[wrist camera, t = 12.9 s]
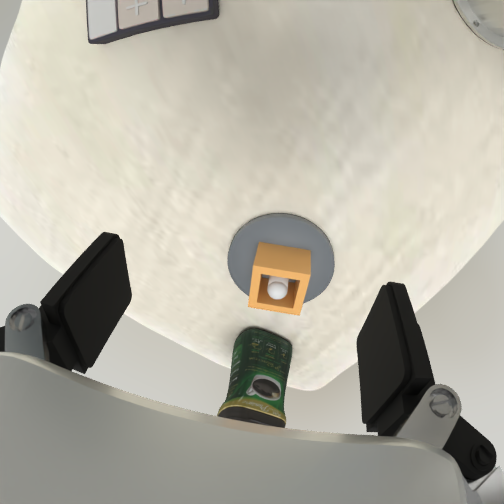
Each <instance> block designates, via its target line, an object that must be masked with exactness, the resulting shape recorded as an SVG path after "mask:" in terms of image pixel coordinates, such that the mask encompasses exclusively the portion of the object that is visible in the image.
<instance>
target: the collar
mask: <svg viewBox="0 0 504 504" xmlns="http://www.w3.org/2000/svg"><path fill="white" fill-rule="evenodd" d="M262 274H265V275H271V276H277V277H283V278H289V279H295V280H296V281H295V283H293V282H288V291H287V294H286V296H285V297H284V298H282V299H273V298H271V297H270V296H269V294H268V291H267V288H268V282H269V278H263V277H262ZM310 276H311V250H306V249H300V248H294V247H288V246H282V245H276V244H270V243H264V242H259V244H258V248H257V252H256V256H255V260H254V264H253V270H252V278H251V286H250V294H249V302H248V307H251V308H257V309H263V310H269V311H275V312H281V313H287V314H293V315H300V312H301V308H302V305H303V301H304V298H305V294H306V291H307V287H308V283H309V280H310Z"/></svg>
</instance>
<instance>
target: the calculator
mask: <svg viewBox="0 0 504 504" xmlns="http://www.w3.org/2000/svg"><path fill="white" fill-rule="evenodd" d="M86 10H87V30H88V42H89V43H90V44H106V43H110V42H113V41H116V40H119V39H123V38H126V37H129V36H132V35H135V34H139V33H143V32H147V31H151V30H156V29H160V28H165V27H170V26H175V25H180V24H185V23H191V22H197V21H203V20H210V19H216V18H218V16H219V5H218V0H86Z"/></svg>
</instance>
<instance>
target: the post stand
mask: <svg viewBox="0 0 504 504" xmlns="http://www.w3.org/2000/svg"><path fill="white" fill-rule="evenodd" d="M259 242H264V243H270V244H276V245H282V246H288V247H294V248H300V249H306V250H311V276H310V280H309V283H308V287H307V291H306V294H305V298H304V301H303V303H305V302H308V301H310V300H312V299H314V298H315V297H317V296H318V295H320V294H321V293H322V292H323V291H324V290H325V289H326V287H327V286H328V284H329V283H330V281H331V279H332V276H333V272H334V255H333V250H332V246H331V244H330V241H329V240H328V238H327V236H326V235H325V234H324V233H323V231H322V230H321V229H320V228H319V227H317V226H316V225H315V224H313V223H312V222H310V221H308V220H306V219H304V218H302V217H299V216H296V215H292V214H284V213H274V214H267V215H263V216H260V217H257V218H255V219H253V220H251V221H249V222H248V223H247V224H245V225H244V226H243V227H242V228H241V229H240V230H239V231H238V232H237V234H236V235H235V237H234V239H233V241H232V243H231V246H230V249H229V252H228V269H229V272H230V275H231V277H232V279H233V281H234V282H235V284H236V285H237V286H238V287H239V288H240V289H241V290H242V291H243V292H244V293H245V294H247V295H248V296H249V294H250V286H251V278H252V270H253V264H254V260H255V256H256V252H257V248H258V244H259ZM262 277H263V278H269V282H268V288H267V291H268V294H269V296H270V297H271V298H273V299H282V298H284V297H285V296H286V294H287V291H288V282H293V283H295V281H296V280H295V279H289V278H283V277H277V276H271V275H265V274H262Z"/></svg>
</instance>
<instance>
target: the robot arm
mask: <svg viewBox="0 0 504 504" xmlns="http://www.w3.org/2000/svg"><path fill="white" fill-rule="evenodd" d="M453 1H454V3H455V6H456V8H457V10H458V11H459V13H460V15H461V17H462V18H463V19H464V21H465V22H466V24H467V25H468V26H469V27H470V28H471V29H472V31H473V32H474V33H475V34H476V35H478V36H479V37H480V38H481V39H482V40H484V41H485V42H487V43H488V44H490V45H492V46H494V47H496V48H500V49H504V0H453ZM473 23H474V24H473ZM131 298H132V292H131V287H130V281H129V276H128V270H127V264H126V258H125V251H124V244H123V240H122V239H120V237H119V235H117V234H113V233H108V232H103V233H102V234H101V235H100V236H99V237H98V238H97V239H96V240H95V241H94V242H93V243H92V244H91V245H90V246H89V247H88V248H87V249H86V250H85V251H84V252H83V253H82V255H81V256H80V257H79V258H78V259H77V260H76V261H75V262H74V263H73V264H72V266H71V267H70V268H69V269H68V270H67V271H66V272H65V273H64V275H63V276H62V277H61V278H60V279H59V280H58V281H57V283H56V284H55V285H54V286H53V287H52V288H51V290H50V291H49V292H48V293H47V294H46V296H45V297H44V298H43V299H42V301H41V306H40V308H39V309H38V307H37V306H35V305H32V304H23V305H20V306H18V307H16V308H15V309H13V310H12V311H11V312H10V313H9V315H8V317H7V318H6V323H5V326H3V327H0V504H504V472H503V471H502V469H501V468H500V466H499V467H497V468H496V467H495V464H496V451H495V448H494V446H493V444H491V442H490V441H489V440H488V439H487V438H485V437H484V436H483V435H482V434H481V433H480V432H478V431H477V430H476V429H475V428H474V427H473V426H471V425H470V424H469V423H468V422H467V421H466V420H465V419H463V418H462V417H461V416H460V413H461V401H460V399H459V397H458V395H457V393H456V392H455V391H454V390H453V389H452V388H450V387H448V386H446V385H442V384H436V385H435V381H434V377H433V373H432V369H431V365H430V361H429V357H428V354H427V350H426V346H425V343H424V339H423V336H422V332H421V329H420V326H419V325H418V323H417V321H416V317H415V314H414V311H413V308H412V305H411V302H410V299H409V296H408V293H407V290H406V287H405V285H404V284H401V283H395V282H388V283H387V285H383V286H382V287H381V289H380V291H379V293H378V295H377V298H376V300H375V302H374V304H373V306H372V308H371V310H370V313H369V315H368V317H367V319H366V321H365V323H364V325H363V327H362V329H361V331H360V333H359V335H358V338H357V354H358V365H359V378H360V391H361V408H362V422H363V423H364V424H366V427H367V432H378V436H374V435H354V434H339V433H326V432H315V431H305V430H296V429H288V428H280V427H273V426H267V425H260V424H254V423H248V422H243V421H237V420H232V419H227V418H222V417H217V416H213V415H208V414H204V413H200V412H195V411H191V410H187V409H183V408H180V407H176V406H172V405H168V404H165V403H161V402H158V401H154V400H151V399H148V398H144V397H141V396H138V395H135V394H132V393H129V392H126V391H123V390H120V389H117V388H114V387H111V386H108V385H106V384H103V383H100V382H97V381H95V380H92V379H90V378H87V377H84V376H82V375H79V374H77V373H74V372H72V369H74V370H76V371H79V372H81V373H83V374H85V373H86V371H87V369H88V367H89V368H91V367H92V366H93V365H94V363H95V361H96V359H97V358H98V356H99V354H100V352H101V350H102V349H103V347H104V345H105V343H106V342H107V340H108V338H109V337H110V335H111V333H112V332H113V330H114V328H115V327H116V325H117V323H118V321H119V320H120V318H121V316H122V315H123V313H124V312H125V310H126V308H127V307H128V305H129V304H130V302H131Z"/></svg>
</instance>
